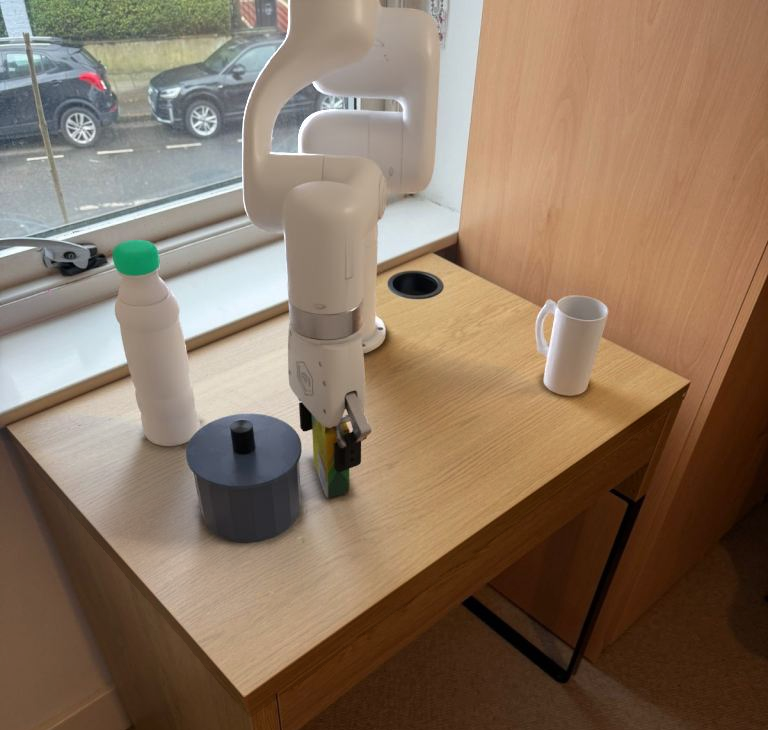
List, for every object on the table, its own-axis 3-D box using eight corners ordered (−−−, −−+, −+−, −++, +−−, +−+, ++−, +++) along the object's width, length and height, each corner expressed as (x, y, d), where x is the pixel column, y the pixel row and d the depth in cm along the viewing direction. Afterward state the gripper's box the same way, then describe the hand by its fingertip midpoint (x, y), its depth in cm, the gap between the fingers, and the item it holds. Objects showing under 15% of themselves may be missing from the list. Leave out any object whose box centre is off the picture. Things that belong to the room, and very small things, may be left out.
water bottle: (210, 422, 100) (180, 238, 83) (183, 454, 95) (145, 266, 78) (163, 410, 102) (123, 227, 84) (134, 441, 97) (85, 254, 80)
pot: (182, 507, 89) (170, 450, 83) (258, 462, 95) (252, 407, 89) (244, 558, 83) (235, 502, 77) (320, 507, 89) (318, 451, 83)
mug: (598, 385, 109) (618, 309, 101) (569, 403, 106) (588, 326, 97) (543, 355, 114) (558, 281, 106) (514, 372, 111) (527, 296, 102)
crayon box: (350, 495, 91) (350, 417, 83) (326, 499, 90) (323, 421, 82) (335, 456, 96) (334, 379, 88) (312, 460, 95) (308, 383, 87)
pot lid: (164, 454, 83) (157, 425, 80) (253, 407, 90) (249, 378, 87) (235, 511, 77) (231, 481, 74) (325, 456, 84) (324, 426, 81)
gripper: (256, 284, 81) (269, 417, 93) (335, 364, 71) (337, 501, 83) (319, 269, 84) (323, 399, 96) (403, 343, 74) (396, 479, 86)
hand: (330, 446), depth 90 cm, fingers closed on crayon box, 7 cm apart
